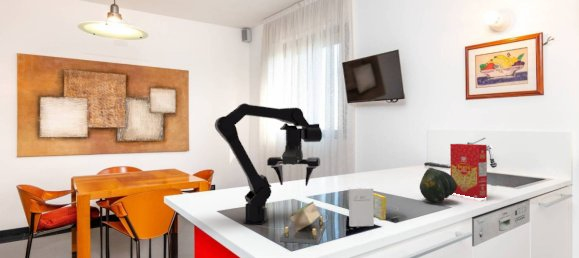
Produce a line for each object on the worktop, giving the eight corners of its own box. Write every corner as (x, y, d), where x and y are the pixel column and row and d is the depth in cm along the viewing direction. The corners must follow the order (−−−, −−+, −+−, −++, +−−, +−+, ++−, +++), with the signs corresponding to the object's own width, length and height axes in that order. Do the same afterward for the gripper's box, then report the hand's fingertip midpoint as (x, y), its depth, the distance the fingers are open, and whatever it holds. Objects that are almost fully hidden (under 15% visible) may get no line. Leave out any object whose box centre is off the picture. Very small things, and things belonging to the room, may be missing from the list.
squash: (413, 202, 143) (413, 168, 143) (429, 197, 153) (429, 165, 153) (447, 208, 132) (446, 171, 132) (461, 202, 142) (461, 168, 142)
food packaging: (450, 195, 158) (450, 143, 158) (458, 194, 160) (458, 143, 160) (478, 201, 145) (478, 145, 145) (486, 200, 147) (486, 144, 147)
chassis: (280, 241, 94) (280, 228, 94) (293, 223, 111) (293, 213, 111) (318, 244, 91) (318, 231, 91) (326, 225, 109) (325, 214, 109)
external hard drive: (348, 225, 110) (348, 188, 110) (372, 224, 110) (372, 187, 110) (350, 226, 108) (349, 189, 108) (374, 225, 109) (373, 188, 109)
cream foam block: (297, 230, 100) (289, 216, 101) (308, 221, 110) (300, 208, 111) (310, 223, 98) (302, 208, 99) (320, 214, 109) (312, 201, 110)
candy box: (386, 220, 116) (386, 196, 116) (381, 220, 116) (381, 197, 116) (365, 209, 132) (365, 188, 132) (360, 209, 131) (360, 189, 131)
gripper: (262, 143, 113) (262, 188, 113) (315, 143, 109) (316, 190, 109) (271, 142, 124) (271, 183, 124) (320, 142, 119) (320, 184, 119)
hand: (293, 185), depth 119 cm, fingers open, 9 cm apart
